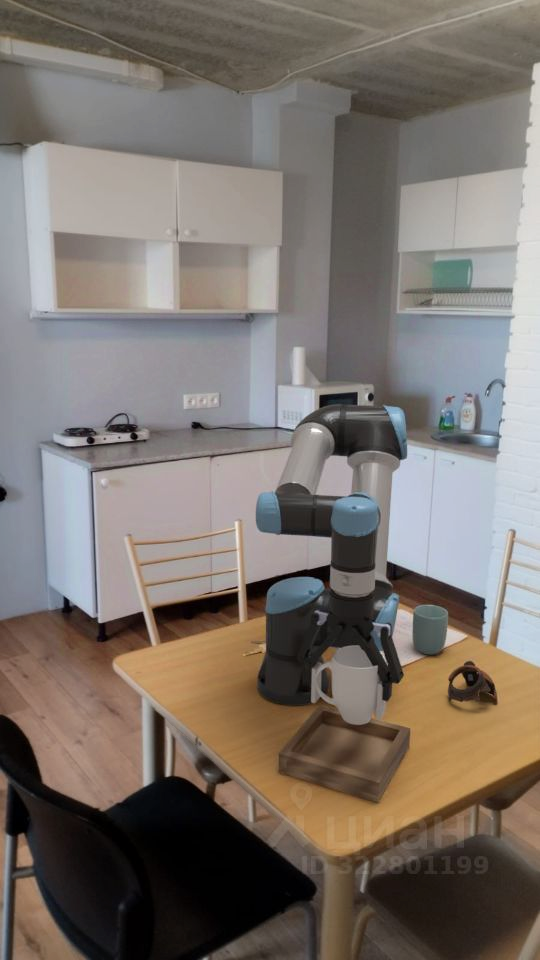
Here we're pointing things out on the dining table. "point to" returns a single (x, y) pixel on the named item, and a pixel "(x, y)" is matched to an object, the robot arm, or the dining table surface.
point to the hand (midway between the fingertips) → (347, 707)
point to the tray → (345, 753)
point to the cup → (429, 628)
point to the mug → (352, 684)
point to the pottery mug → (471, 683)
